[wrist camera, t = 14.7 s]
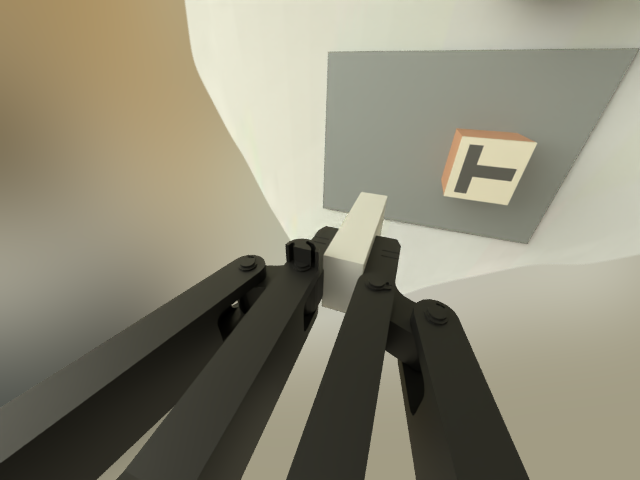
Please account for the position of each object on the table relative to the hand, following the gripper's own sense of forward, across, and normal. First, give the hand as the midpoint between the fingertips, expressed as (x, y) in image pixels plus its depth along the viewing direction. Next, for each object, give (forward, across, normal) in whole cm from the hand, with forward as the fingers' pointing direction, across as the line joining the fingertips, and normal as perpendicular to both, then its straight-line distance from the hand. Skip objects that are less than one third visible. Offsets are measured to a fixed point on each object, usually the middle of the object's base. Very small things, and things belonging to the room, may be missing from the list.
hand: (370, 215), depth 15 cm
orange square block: (+15, +9, -1) cm, 17 cm away
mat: (+21, +4, -1) cm, 21 cm away
